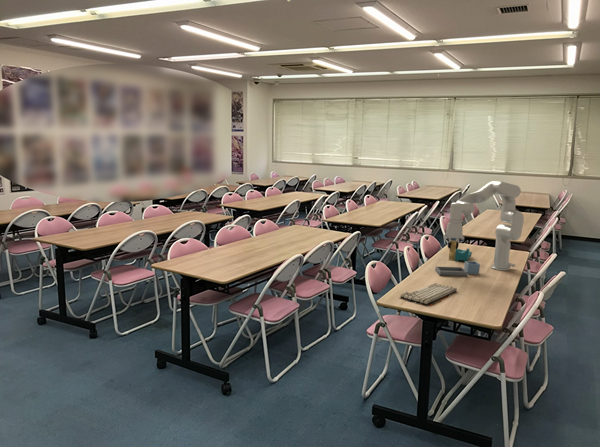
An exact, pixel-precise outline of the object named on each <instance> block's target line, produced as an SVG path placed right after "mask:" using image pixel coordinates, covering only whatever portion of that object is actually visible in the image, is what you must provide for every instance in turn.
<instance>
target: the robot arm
mask: <svg viewBox="0 0 600 447" xmlns="http://www.w3.org/2000/svg"><path fill="white" fill-rule="evenodd" d="M521 192H522V190H521V187H520V186H519V185H517V184H513V183H509V182H504V181H498V180H491V181H489V182H488V183H486V184H485V185H484V186H482V187H481V188H480V189H478V190H476V191H474V192H471V193H468V194H466V195H463V197H460V199H458V200H457V201H456V202H451V203H450V209H449V222H447V225H446V229H445V234H444V235H443V237H442V238H443V239H444V240H446V241H447V247H448V249H449V250H450V248H451V243H450V241H452V239H455V241H457V243H456V249H459V246H460V245H459V243H460V242H462V241H464V240H465V236H464V235H463V234H464V233H463V232H464V231H463V223H464V219H462V217H463V215H470V214H473V213H474V212H475V210H476V207H475V205H474V204H479V203H484V202H486V201H487V200H489V199H490V198H491V197H493V196H494V195H495V194H496V195H499V196H500V199H501V202H502V204H501V208H500V209H501V210H500V215H499V216H500V217H499V219H500V221H501V222H502V223H501V224H498V225H497V226H496V228H495V248H494V257H493V264H491V265H490V268H491V269H493V270H497V271H505V272H507V271H510V270H511V267H516V264H515V263H510V251H511V241H514V242H515V241H518V240H519V239H520V238H521V236H522V231H523V226H524V220H525V218H524V214H523V213H522V212H521V211H519V210H517V209H516V204H517V202H516V199H517V198H518V197H519V196H520V195H521ZM504 223H505V224H504ZM506 223H507V224H506Z"/></svg>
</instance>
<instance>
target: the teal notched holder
mask: <svg viewBox="0 0 600 447" xmlns="http://www.w3.org/2000/svg"><path fill="white" fill-rule="evenodd" d="M472 255H473V252H472V251H470V248H468V247H467V248H466V250H465V249H460V248H458V249H456V253H455V261H456V262H459V261H463V262H465V261H469V259H470V258H471V257H472Z"/></svg>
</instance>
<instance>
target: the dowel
mask: <svg viewBox="0 0 600 447" xmlns="http://www.w3.org/2000/svg"><path fill="white" fill-rule="evenodd" d="M450 243H451V248H450V249H449V251H448V261H451V262H454V261H455V253H456V243H457V241H456V240H451V241H450Z"/></svg>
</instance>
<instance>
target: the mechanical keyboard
mask: <svg viewBox="0 0 600 447" xmlns="http://www.w3.org/2000/svg"><path fill="white" fill-rule="evenodd" d="M456 293H458V288H457V287H453V286H448V285H444V284H443V285H442V284H440V283H437V282H435V283H433V284H432V283H431V284H430V285H427V286H424V287H422V288H419V289H417V290H414V291H412V292H408V291H405V292H403V293H401V294H400V297H399V299H400V300H404V301H407V302H409V303H413V304H414V303H415V304H418V305H422V306H425V307H432V306H435V305H437V304H439V303H440V302H443V301H444V300H446V299H448V298H449V296H452V295H454V294H456Z"/></svg>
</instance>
